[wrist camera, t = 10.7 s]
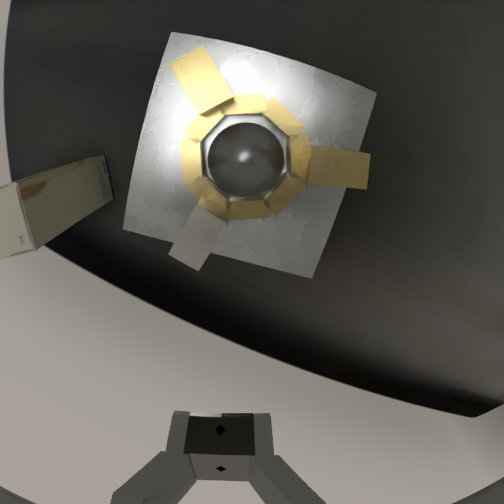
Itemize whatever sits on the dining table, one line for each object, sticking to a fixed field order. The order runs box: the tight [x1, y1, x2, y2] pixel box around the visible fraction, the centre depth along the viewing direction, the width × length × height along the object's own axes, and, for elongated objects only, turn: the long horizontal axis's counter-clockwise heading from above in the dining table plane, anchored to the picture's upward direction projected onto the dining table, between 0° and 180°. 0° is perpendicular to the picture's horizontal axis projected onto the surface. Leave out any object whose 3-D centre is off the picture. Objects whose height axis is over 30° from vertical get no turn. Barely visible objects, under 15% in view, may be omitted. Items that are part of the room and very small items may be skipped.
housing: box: [123, 32, 377, 279], centre depth 22 cm, size 17×17×5 cm
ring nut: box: [169, 45, 371, 271], centre depth 21 cm, size 14×15×4 cm
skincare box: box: [0, 155, 113, 259], centre depth 19 cm, size 6×4×12 cm
